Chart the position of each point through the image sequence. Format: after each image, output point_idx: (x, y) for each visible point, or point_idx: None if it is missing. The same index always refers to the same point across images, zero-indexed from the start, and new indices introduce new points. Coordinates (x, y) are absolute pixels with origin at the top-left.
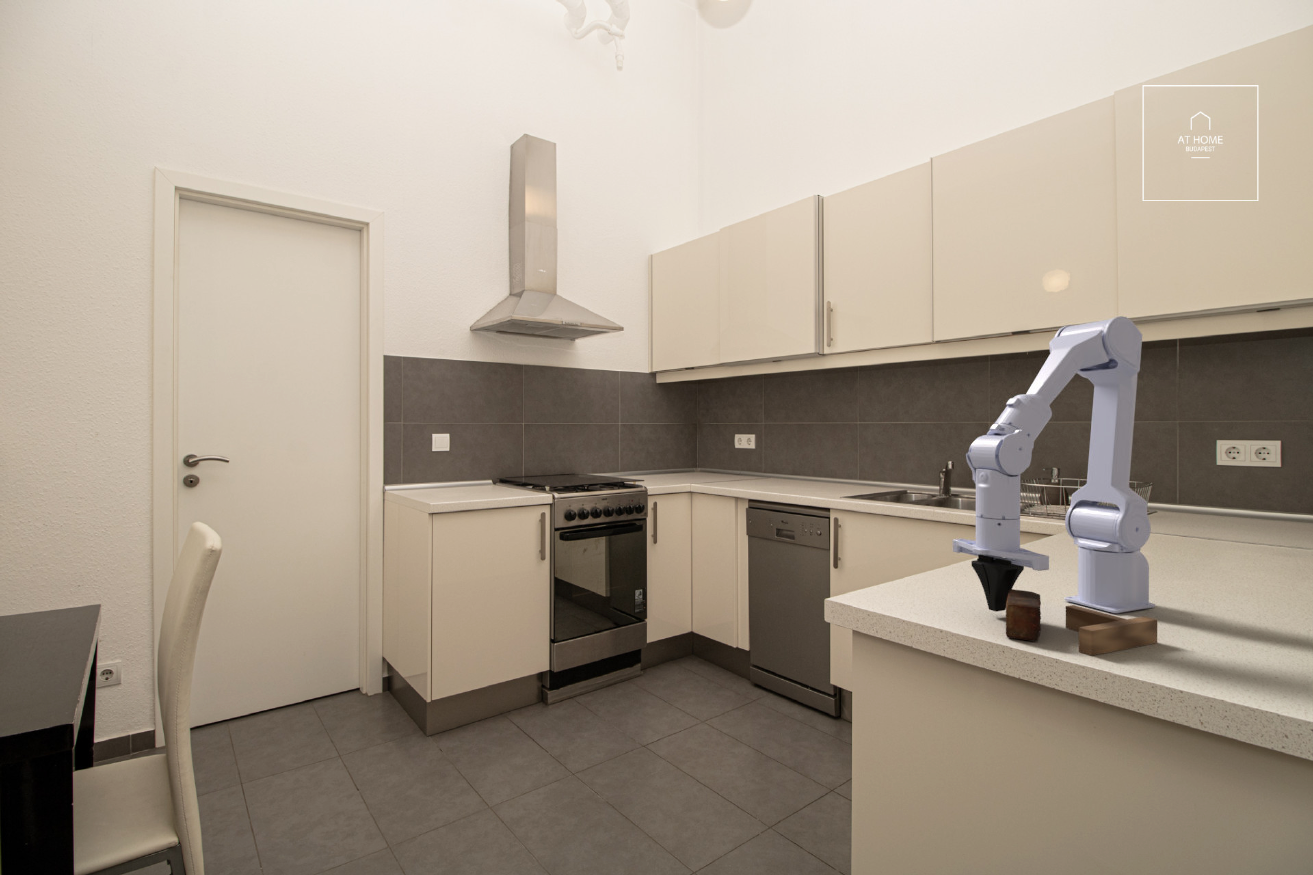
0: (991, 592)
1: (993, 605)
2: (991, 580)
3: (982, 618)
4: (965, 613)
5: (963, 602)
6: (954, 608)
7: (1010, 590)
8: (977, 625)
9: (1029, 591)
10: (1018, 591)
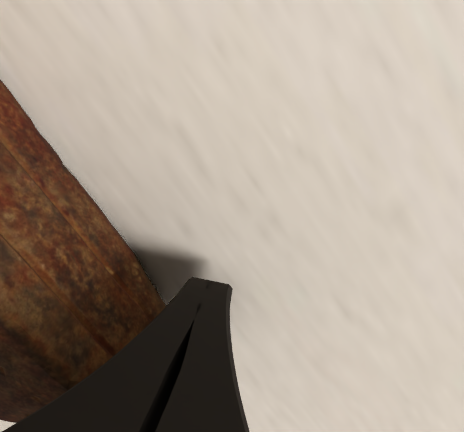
0: (168, 341)
1: (186, 290)
2: (112, 406)
3: (232, 213)
4: (333, 224)
5: (442, 372)
6: (424, 260)
7: (55, 378)
8: (159, 74)
9: (10, 417)
10: (8, 378)
